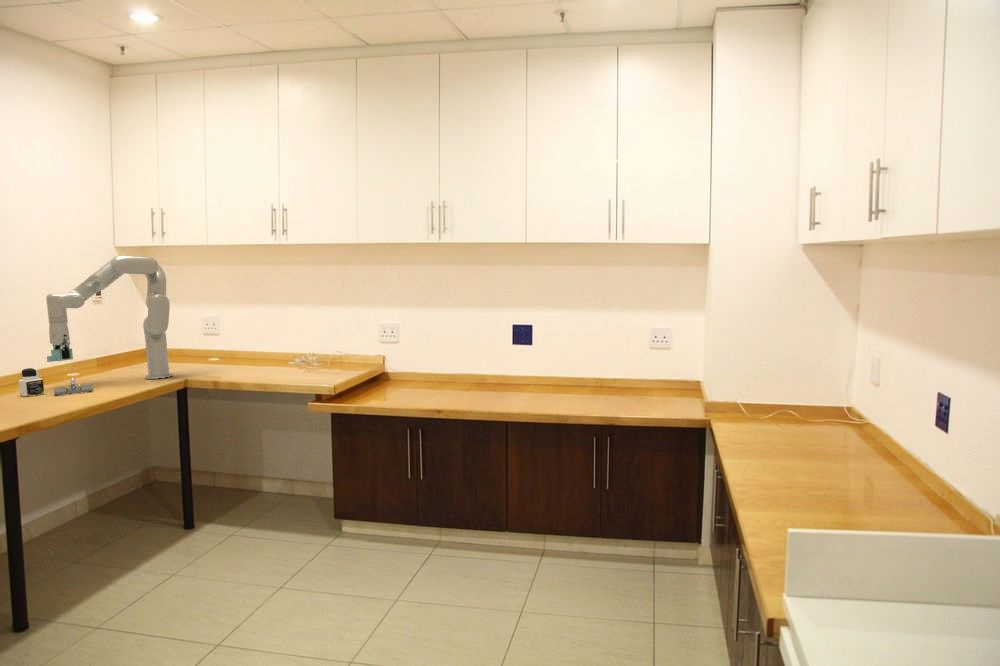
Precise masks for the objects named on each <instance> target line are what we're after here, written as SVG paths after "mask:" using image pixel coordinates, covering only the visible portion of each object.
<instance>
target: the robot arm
mask: <svg viewBox="0 0 1000 666" xmlns="http://www.w3.org/2000/svg"><path fill="white" fill-rule="evenodd" d="M125 274H127V275H144V276H145V277H146V281H147V285H146V286H147V289H146V300H145V304H146V307H147V309H148V310H147V316H146V317H145V318H144V320H143V324H142V325H143V326H142V327H143V333H144V341H145V351H146V352H145V353H146V362H147V364H146V365H147V375H145V376H144V378H145V380H159V379H158V378H162V379H166V378H165V377H168V378H171V377H170V376H172V377H173V376H174V375H173V373H172V372H170V367H169V356H168V342H167V334H166V331H167V330H168V328H169V321H170V311H171V310H170V308H171V307H170V306H171V305H170V300H169V298H168V297H167V276H166V274H165V271H164V269H163V268H162V266H161V265H160V264H159V263H158V261H157V260H156V259H155V258H153V257H151V256H128V255H117V256H115V257H113V258H112V259H111V260H109V261H108V262H106V263H105V264H103V265H102V266H101V267H100V268H98V270H96V271H94V272H93V273H92V274H91V275H90V276H89V277H88V278H86V279H85V280H84V281H82V282H81V283H79V285H78V286H76V287H75V288H74V289H72V290H71V291H69V292H68V293H48V294H47V295H46V296H45V297H46V298H45V300H46V307H47V308H46V309H47V316H48V325H49V328H48V331H49V333H48V334H49V343H50V345H52V347H53V349H52V350H54V349H61V348H62V350H63V351H61V352H62V359H68V358H70V353H69V348H70V345H71V338H70V331H69V326H68V322H69V321H68V319H69V318H68V314H67V313H68V312H67V311H68V310H67V309H79V308H82V307H83V306H84V304H85V302H86V301H88V300H89V299H90V298H91V297H93V296H94V295H95V294H97V293H98V292H101V291H103V290H105V289H106V288H108V287H109V286H110V285H112V284H113V283H114V282H116V281H117V280H118V279H119V278H121V277H122V276H123V275H125Z"/></svg>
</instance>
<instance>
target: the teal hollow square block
mask: <svg viewBox="0 0 1000 666" xmlns="http://www.w3.org/2000/svg"><path fill="white" fill-rule="evenodd" d="M61 351H63V350H62V348H61V349H50V353H51V355H47V356H46V361H47V362H48V363H51V362H62V361H70V360H74V356H73V348H70V347H69V353H70V358H68V359H62V352H61Z"/></svg>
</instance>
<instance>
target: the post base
mask: <svg viewBox="0 0 1000 666" xmlns="http://www.w3.org/2000/svg"><path fill="white" fill-rule="evenodd" d="M69 380H70V385H65V386H58V387H54V390H53V391H54V393H53V394H54V396H55V395H60V396H63V395H62V394H69V395H73V394H72V393H78V394H82V393H81V392H87V393H90V392H89V391H93V392H94V388H93V387H94V386H93V384H92V383H88V384H87V383H86V384H78V385H77V383H76V378H75V377H72V378H69Z"/></svg>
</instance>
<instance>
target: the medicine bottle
mask: <svg viewBox="0 0 1000 666" xmlns="http://www.w3.org/2000/svg"><path fill="white" fill-rule="evenodd" d="M38 371H39V369H38V368H36V367H35V368H34V367H32V368H31V367H30V368H23V369H21V377H22V379H19V380H18V389H19V396H20V395H22V396H21V397H25V396H31V397H34V396H33V395H36V396H39V395H38V394H42V395H45V386H44V379H43V378H40V377H39V372H38Z"/></svg>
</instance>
